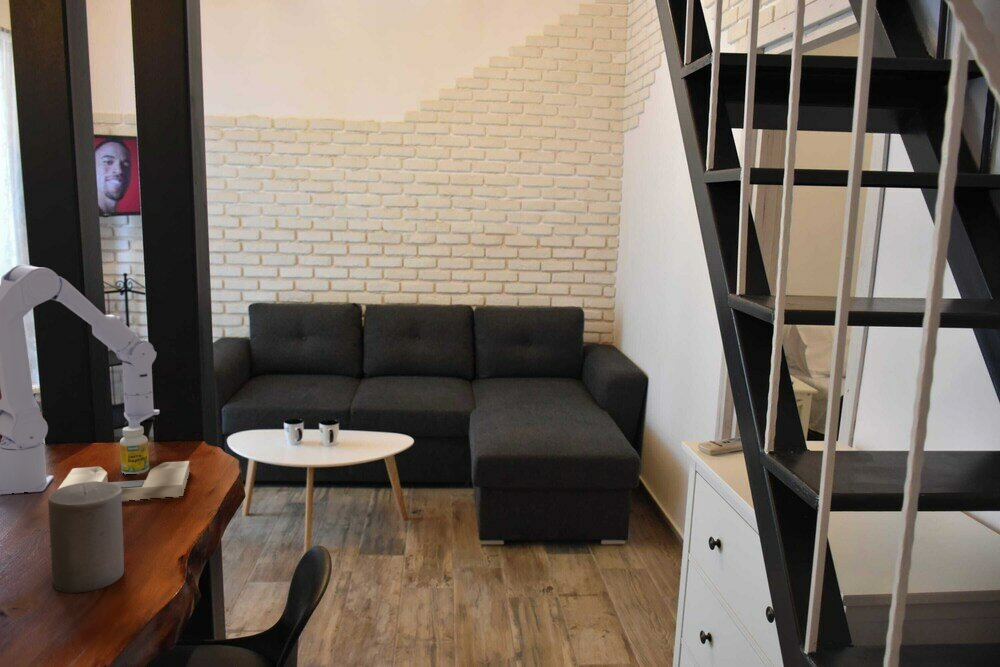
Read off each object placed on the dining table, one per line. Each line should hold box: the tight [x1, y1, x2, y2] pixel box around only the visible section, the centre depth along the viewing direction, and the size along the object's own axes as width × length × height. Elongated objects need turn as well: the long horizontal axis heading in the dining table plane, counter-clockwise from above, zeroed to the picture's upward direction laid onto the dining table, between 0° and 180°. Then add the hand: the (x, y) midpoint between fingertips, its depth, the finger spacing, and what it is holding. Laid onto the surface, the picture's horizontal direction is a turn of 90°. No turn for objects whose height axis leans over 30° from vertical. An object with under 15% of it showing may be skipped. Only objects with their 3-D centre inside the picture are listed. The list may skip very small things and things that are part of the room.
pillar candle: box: [47, 481, 125, 594], centre depth 109 cm, size 10×10×15 cm
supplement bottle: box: [119, 426, 150, 475], centre depth 153 cm, size 5×5×10 cm
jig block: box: [57, 460, 191, 502], centre depth 145 cm, size 22×14×3 cm, turn 108°
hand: (141, 451), depth 161 cm, fingers closed
